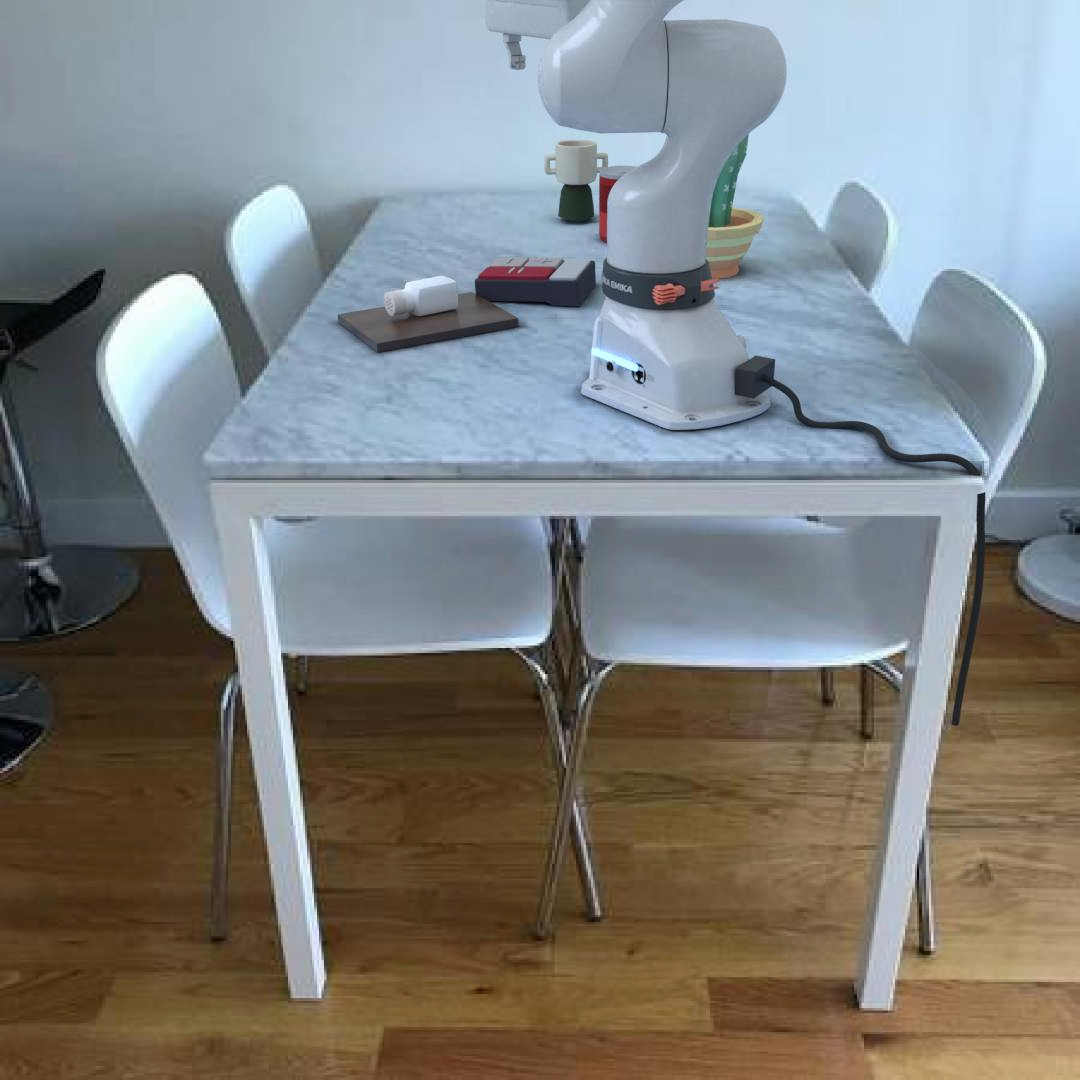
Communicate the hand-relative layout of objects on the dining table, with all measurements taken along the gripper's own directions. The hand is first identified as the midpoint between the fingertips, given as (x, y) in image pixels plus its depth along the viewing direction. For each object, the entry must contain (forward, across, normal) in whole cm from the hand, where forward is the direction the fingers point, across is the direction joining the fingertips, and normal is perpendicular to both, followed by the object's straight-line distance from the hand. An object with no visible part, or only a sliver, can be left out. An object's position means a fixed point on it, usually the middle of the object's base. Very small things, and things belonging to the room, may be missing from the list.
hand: (537, 72), depth 166 cm
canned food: (+29, -13, +26) cm, 41 cm away
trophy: (+29, -28, +28) cm, 49 cm away
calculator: (+29, +4, -3) cm, 30 cm away
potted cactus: (+29, +10, +24) cm, 39 cm away
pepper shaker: (+26, +5, -18) cm, 32 cm away
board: (+29, +6, -23) cm, 38 cm away
